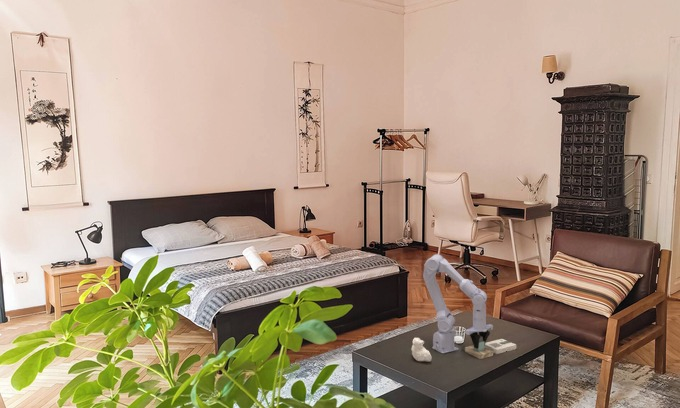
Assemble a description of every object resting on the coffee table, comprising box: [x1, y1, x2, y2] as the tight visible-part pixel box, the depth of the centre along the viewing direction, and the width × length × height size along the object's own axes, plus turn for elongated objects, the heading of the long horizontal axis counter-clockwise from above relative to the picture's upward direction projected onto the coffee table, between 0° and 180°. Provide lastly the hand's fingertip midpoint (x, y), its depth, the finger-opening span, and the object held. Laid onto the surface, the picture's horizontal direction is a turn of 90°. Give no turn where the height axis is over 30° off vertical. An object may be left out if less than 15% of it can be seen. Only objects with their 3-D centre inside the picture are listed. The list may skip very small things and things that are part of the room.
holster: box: [464, 344, 494, 360], centre depth 238 cm, size 8×10×2 cm
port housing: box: [485, 338, 517, 355], centre depth 244 cm, size 12×9×2 cm
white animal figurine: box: [410, 337, 432, 362], centre depth 232 cm, size 12×8×11 cm
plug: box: [474, 336, 484, 352], centre depth 238 cm, size 3×3×8 cm
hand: (479, 347), depth 238 cm, fingers closed on plug, 3 cm apart
